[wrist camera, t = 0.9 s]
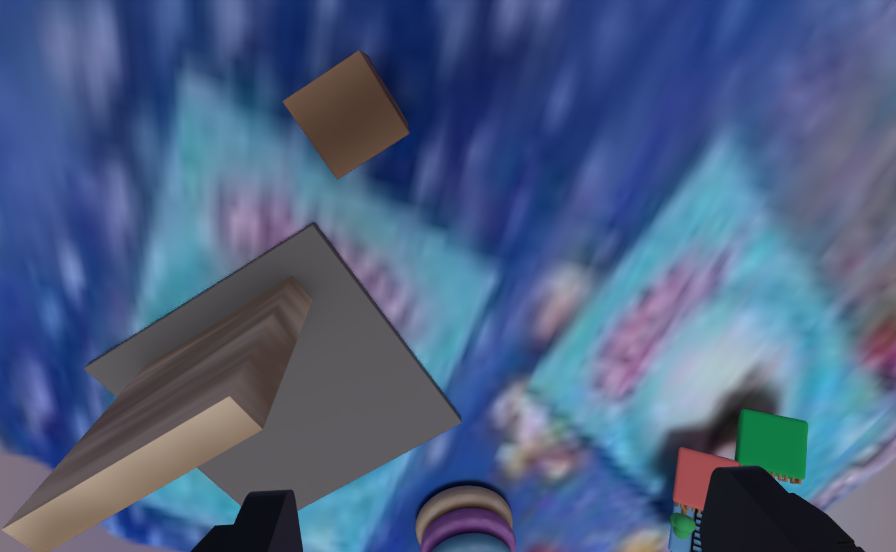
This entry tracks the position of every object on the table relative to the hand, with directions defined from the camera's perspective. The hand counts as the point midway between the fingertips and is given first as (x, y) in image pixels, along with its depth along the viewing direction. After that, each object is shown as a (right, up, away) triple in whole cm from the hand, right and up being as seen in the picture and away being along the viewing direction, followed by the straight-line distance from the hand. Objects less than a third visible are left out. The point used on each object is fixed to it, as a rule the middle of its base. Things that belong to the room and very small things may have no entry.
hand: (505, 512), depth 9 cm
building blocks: (+21, -11, +31) cm, 39 cm away
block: (-6, +14, +18) cm, 23 cm away
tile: (-15, +1, +22) cm, 26 cm away
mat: (-12, -4, +24) cm, 28 cm away
